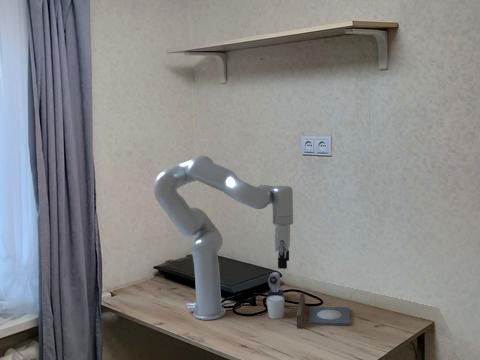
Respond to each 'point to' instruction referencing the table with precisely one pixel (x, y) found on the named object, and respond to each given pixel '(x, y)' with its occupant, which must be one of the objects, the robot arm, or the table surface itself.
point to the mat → (329, 316)
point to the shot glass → (275, 306)
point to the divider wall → (300, 310)
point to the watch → (275, 285)
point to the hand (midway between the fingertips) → (283, 264)
